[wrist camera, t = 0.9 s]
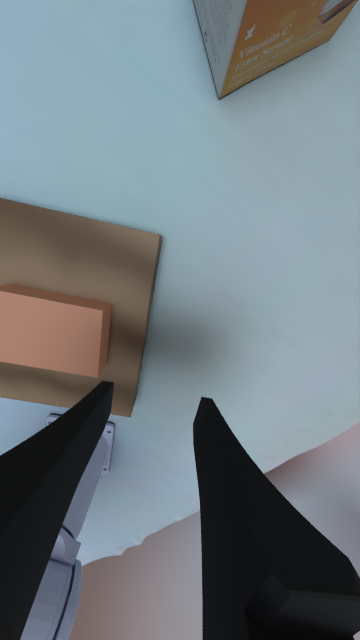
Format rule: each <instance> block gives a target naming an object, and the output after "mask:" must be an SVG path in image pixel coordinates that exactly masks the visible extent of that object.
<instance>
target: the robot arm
mask: <svg viewBox="0 0 360 640" xmlns="http://www.w3.org/2000/svg"><path fill="white" fill-rule="evenodd" d="M113 389H114V382H109V381H102V382H100V383H99V384H98V385H97V386H96V387H95V388H94V389H93V390H92V391H90V392H89V393H88V394H87V395H86V396H85V397H84V398H82V399H81V400H80V401H79V402H78V403H76V404H75V405H74V406H73V407H72V408H70V409H69V410H68V411H66V412H65V413H64V414H63V415H61V416H58V415H49V416H48V417H47V418H46V427H45V428H43V429H42V430H40V431H39V432H37V433H36V434H34V435H33V436H31V437H30V438H28V439H27V440H25V441H24V442H22V443H20V444H19V445H17V446H15V447H14V448H12V449H11V450H9V451H7V452H6V453H4V454H2V455H0V640H69V636H70V633H71V630H72V627H73V624H74V620H75V617H76V613H77V609H78V605H79V601H80V596H81V589H82V566H81V562H80V561H79V560H77V559H76V557H77V554H78V551H79V548H80V545H81V543H80V542H78V541H76V539H77V537H78V535H79V533H80V531H81V528H82V525H83V523H84V520H85V517H86V514H87V511H88V508H89V506H90V503H91V500H92V497H93V494H94V491H95V488H96V486H97V483H98V480H99V477H100V476H107V475H108V473H109V467H110V459H111V451H112V443H113V435H114V425H113V424H111V423H107V421H108V418H109V415H110V412H111V407H112V398H113ZM193 443H194V453H195V461H196V470H197V478H198V487H199V497H200V513H201V541H202V542H201V543H202V592H203V593H202V594H203V640H354V638H353V635H354V634H356V633H357V632H359V631H360V578H359V576H358V574H357V572H356V570H355V569H354V567H353V565H352V563H351V562H350V560H349V558H348V557H347V556H346V555H344V554H343V553H342V552H341V551H340V550H339V549H338V548H337V547H336V546H335V545H333V544H332V543H331V542H330V541H329V540H328V539H327V538H326V537H325V536H323V535H322V534H321V533H320V532H319V531H318V530H317V529H316V528H315V527H313V525H311V523H309V521H308V520H306V519H305V518H304V517H303V516H302V515H301V514H300V513H299V512H298V511H297V510H296V509H295V508H294V507H293V506H292V505H291V504H290V503H289V501H288V500H287V499H286V498H285V497H284V496H283V495H282V494H281V493H280V492H279V491H278V490H277V489H276V487H275V486H274V485H273V484H272V483H271V482H270V481H269V480H268V478H267V477H266V476H265V475H264V474H263V473H262V471H261V470H260V469H259V468H258V466H257V465H256V464H255V463H254V462H253V460H252V459H251V458H250V456H249V455H248V454H247V452H246V451H245V450H244V448H243V447H242V445H241V444H240V443H239V441H238V440H237V438H236V437H235V435H234V434H233V432H232V431H231V429H230V428H229V426H228V424H227V423H226V421H225V420H224V418H223V416H222V415H221V413H220V411H219V410H218V408H217V406H216V404H215V403H214V401H213V399H211V398H205V397H201V401H200V404H199V407H198V410H197V413H196V417H195V420H194V423H193Z"/></svg>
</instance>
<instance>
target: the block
mask: <svg viewBox="0 0 360 640" xmlns="http://www.w3.org/2000/svg"><path fill="white" fill-rule="evenodd" d="M111 307H112V304H111V303H106V302H101V301H96V300H91V299H86V298H81V297H76V296H70V295H65V294H60V293H55V292H50V291H45V290H40V289H35V288H30V287H25V286H20V285H15V284H8V285H3V286H0V362H6V363H12V364H18V365H24V366H30V367H36V368H42V369H48V370H54V371H60V372H66V373H72V374H78V375H84V376H90V377H96V378H98V376H99V375H100V373H101V372H102V370H103V369H104V367H105V366H106V362H107V351H108V340H109V329H110V318H111Z"/></svg>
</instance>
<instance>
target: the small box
mask: <svg viewBox="0 0 360 640" xmlns="http://www.w3.org/2000/svg"><path fill="white" fill-rule="evenodd" d="M357 1H358V0H194V3H195V7H196V11H197V15H198V19H199V23H200V27H201V31H202V35H203V39H204V43H205V46H206V50H207V54H208V58H209V62H210V66H211V70H212V74H213V78H214V82H215V86H216V90H217V94H218V97H219V98H221V97H223V96H225V95H226V94H228V93H230V92H232V91H233V90H235V89H237V88H238V87H240V86H242V85H243V84H245V83H247V82H249V81H251V80H253V79H255V78H257V77H258V76H260V75H262V74H264V73H266V72H268V71H270V70H272V69H274V68H276V67H278V66H280V65H282V64H284V63H285V62H287V61H289V60H291V59H293V58H295V57H297V56H299V55H301V54H303V53H305V52H307V51H309V50H311V49H312V48H314V47H317V46H319V45H321V44H323V43H325V42H327V41H328V40H329V39H330V38H331V37H332V36H333V35H334V33H335V32H336V31H337V29H338V28H339V26H340V25H341V24H342V22H343V21H344V19H345V18H346V16H347V15H348V14H349V12H350V11H351V10H352V8H353V7H354V5H355V4H356V3H357Z"/></svg>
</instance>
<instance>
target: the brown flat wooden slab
mask: <svg viewBox="0 0 360 640" xmlns="http://www.w3.org/2000/svg"><path fill="white" fill-rule="evenodd" d="M161 243H162V236H161V235H159V234H155V233H150V232H146V231H141V230H137V229H133V228H128V227H124V226H120V225H115V224H111V223H107V222H102V221H98V220H93V219H89V218H85V217H80V216H76V215H72V214H67V213H63V212H59V211H54V210H50V209H45V208H41V207H37V206H32V205H28V204H24V203H19V202H15V201H11V200H6V199H2V198H0V286H3V285H8V284H15V285H20V286H25V287H30V288H35V289H40V290H45V291H50V292H55V293H60V294H65V295H70V296H76V297H81V298H86V299H91V300H96V301H101V302H106V303H111V304H112V307H111V318H110V329H109V340H108V351H107V362H106V366H105V367H104V369H103V370H102V372H101V373H100V375H99V376H98V378H96V377H90V376H84V375H78V374H72V373H66V372H60V371H54V370H48V369H42V368H36V367H30V366H24V365H18V364H12V363H6V362H0V397H2V398H8V399H15V400H21V401H28V402H34V403H41V404H47V405H54V406H60V407H67V408H72V407H73V406H74V405H75V404H76V403H78V402H79V401H80V400H81V399H82V398H84V397H85V396H86V395H87V394H88V393H89V392H90V391H92V390H93V389H94V388H95V387H96V386H97V385H98V384H99V383H100V382H102V381H109V382H114V389H113V398H112V407H111V412H110V414H113V415H119V416H126V417H131V414H132V411H133V407H134V404H135V400H136V395H137V389H138V383H139V376H140V370H141V364H142V358H143V352H144V346H145V340H146V334H147V328H148V322H149V316H150V310H151V304H152V297H153V291H154V285H155V279H156V273H157V267H158V261H159V255H160V249H161Z"/></svg>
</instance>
